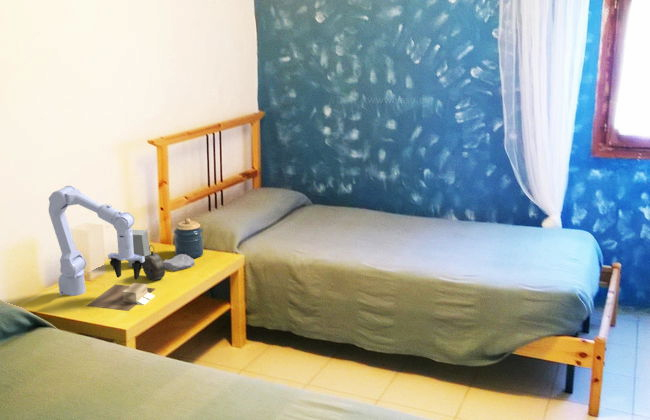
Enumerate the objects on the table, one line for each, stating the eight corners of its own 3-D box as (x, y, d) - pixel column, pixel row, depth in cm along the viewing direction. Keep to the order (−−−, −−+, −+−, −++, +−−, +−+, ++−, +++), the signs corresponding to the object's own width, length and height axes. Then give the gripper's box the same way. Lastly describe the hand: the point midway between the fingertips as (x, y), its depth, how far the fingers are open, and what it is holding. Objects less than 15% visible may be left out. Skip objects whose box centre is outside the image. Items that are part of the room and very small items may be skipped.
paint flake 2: (142, 298, 270) (143, 296, 269) (147, 294, 274) (148, 292, 273) (151, 303, 269) (152, 300, 269) (156, 299, 273) (157, 296, 273)
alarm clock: (166, 283, 289) (164, 246, 284) (155, 286, 285) (153, 249, 281) (151, 276, 296) (149, 240, 292) (140, 279, 292) (138, 243, 288)
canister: (193, 248, 331) (192, 212, 326) (209, 255, 322) (207, 218, 317) (169, 254, 323) (167, 218, 318) (184, 261, 313) (182, 224, 308)
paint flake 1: (136, 303, 265) (137, 301, 265) (141, 299, 269) (142, 297, 269) (145, 308, 265) (146, 305, 264) (150, 304, 269) (151, 301, 268)
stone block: (196, 269, 310) (182, 260, 315) (197, 259, 308) (182, 250, 313) (176, 277, 301) (161, 268, 307) (176, 268, 299) (161, 258, 305)
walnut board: (85, 309, 263) (85, 305, 263) (115, 287, 284) (115, 284, 284) (129, 314, 260) (128, 310, 259) (155, 292, 280) (155, 288, 280)
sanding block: (123, 302, 266) (122, 291, 265) (134, 293, 275) (133, 282, 274) (136, 303, 265) (135, 293, 264) (147, 294, 274) (146, 284, 272)
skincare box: (151, 263, 312) (149, 229, 307) (144, 268, 305) (142, 234, 300) (134, 261, 313) (131, 228, 309) (126, 267, 306) (124, 233, 302)
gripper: (103, 246, 264) (105, 279, 268) (137, 249, 261) (139, 283, 265) (112, 240, 271) (115, 272, 275) (146, 243, 268) (148, 276, 271)
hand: (127, 277), depth 270 cm, fingers open, 7 cm apart
